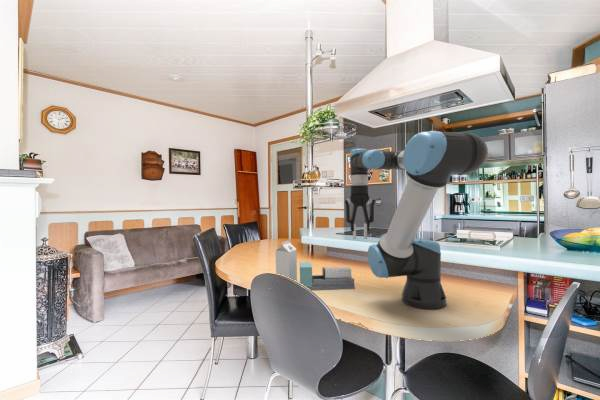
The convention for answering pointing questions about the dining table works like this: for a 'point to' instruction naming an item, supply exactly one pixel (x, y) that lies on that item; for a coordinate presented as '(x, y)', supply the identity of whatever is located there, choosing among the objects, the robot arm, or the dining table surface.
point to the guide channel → (331, 283)
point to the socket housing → (306, 274)
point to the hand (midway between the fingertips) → (360, 238)
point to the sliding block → (336, 272)
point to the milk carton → (286, 260)
